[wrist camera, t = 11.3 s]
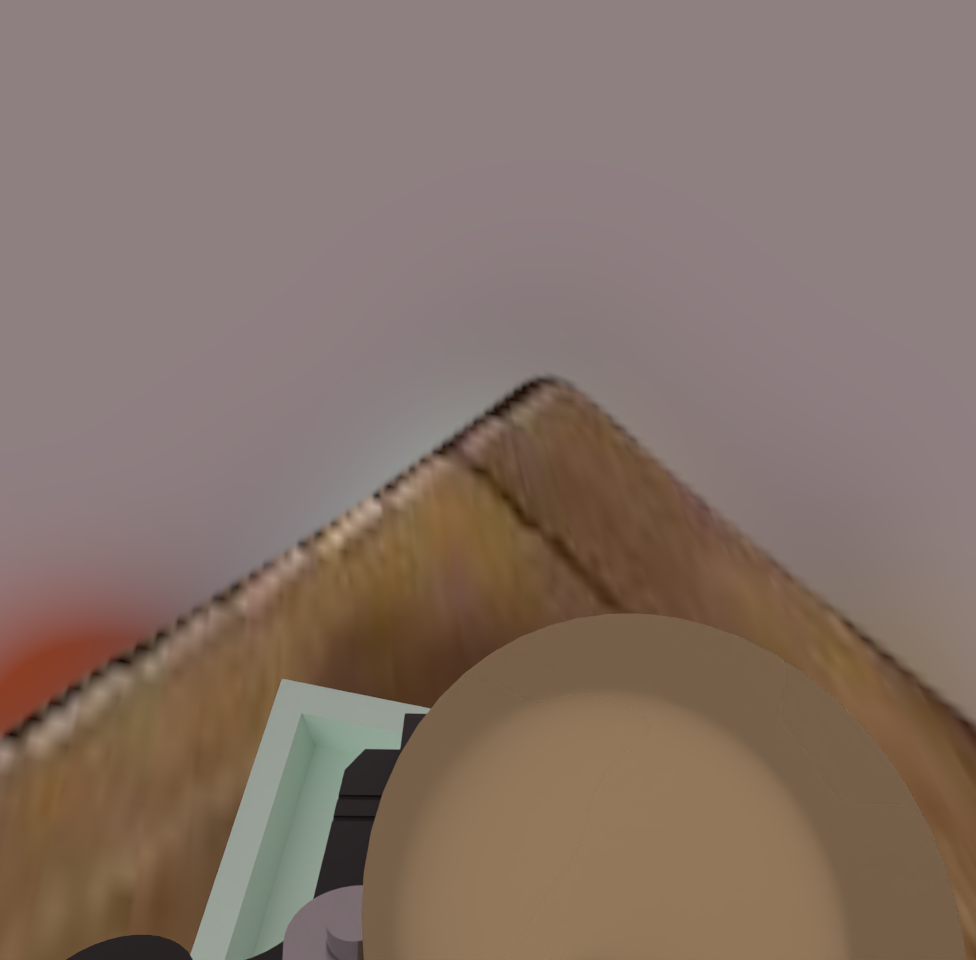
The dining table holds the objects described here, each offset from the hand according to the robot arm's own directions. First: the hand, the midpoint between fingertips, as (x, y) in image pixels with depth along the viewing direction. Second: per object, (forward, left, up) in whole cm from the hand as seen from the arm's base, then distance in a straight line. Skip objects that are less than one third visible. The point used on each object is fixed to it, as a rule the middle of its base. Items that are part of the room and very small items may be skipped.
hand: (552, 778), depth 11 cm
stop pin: (0, -2, -6) cm, 6 cm away
